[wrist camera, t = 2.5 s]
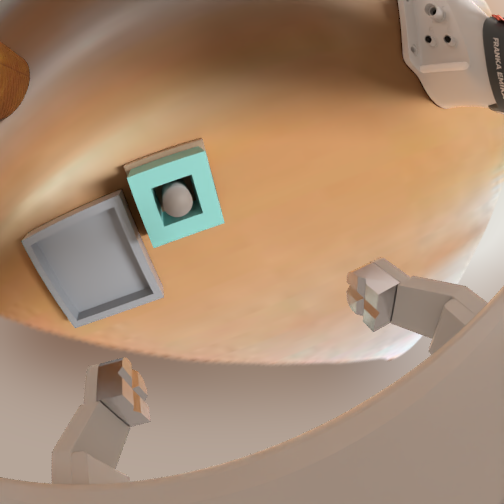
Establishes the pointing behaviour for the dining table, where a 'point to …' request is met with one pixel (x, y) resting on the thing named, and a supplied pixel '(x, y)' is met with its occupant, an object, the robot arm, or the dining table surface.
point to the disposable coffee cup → (12, 80)
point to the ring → (167, 170)
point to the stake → (172, 182)
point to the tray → (94, 260)
